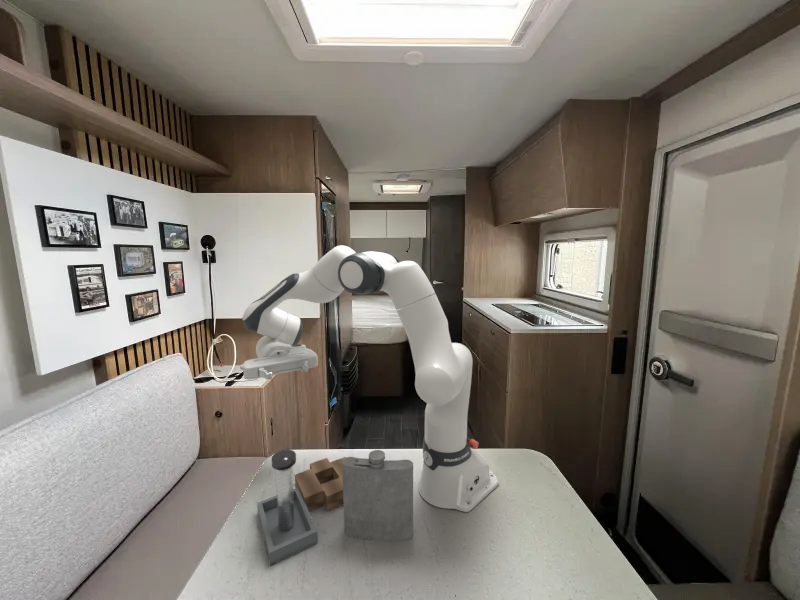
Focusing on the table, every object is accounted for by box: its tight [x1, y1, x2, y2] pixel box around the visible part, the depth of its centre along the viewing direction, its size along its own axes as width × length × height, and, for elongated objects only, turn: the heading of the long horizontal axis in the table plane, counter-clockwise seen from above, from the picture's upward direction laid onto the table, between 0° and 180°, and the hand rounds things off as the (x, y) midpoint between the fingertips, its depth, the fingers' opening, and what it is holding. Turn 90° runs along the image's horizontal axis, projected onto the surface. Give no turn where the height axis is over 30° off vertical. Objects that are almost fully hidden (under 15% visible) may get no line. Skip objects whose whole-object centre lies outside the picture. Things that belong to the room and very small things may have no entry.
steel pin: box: [271, 449, 297, 532], centre depth 75 cm, size 5×5×18 cm
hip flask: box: [342, 449, 414, 542], centre depth 73 cm, size 16×4×20 cm, turn 85°
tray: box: [256, 487, 319, 567], centre depth 76 cm, size 10×16×3 cm, turn 32°
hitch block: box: [294, 456, 347, 512], centre depth 88 cm, size 15×15×4 cm
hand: (287, 372), depth 87 cm, fingers open, 8 cm apart
